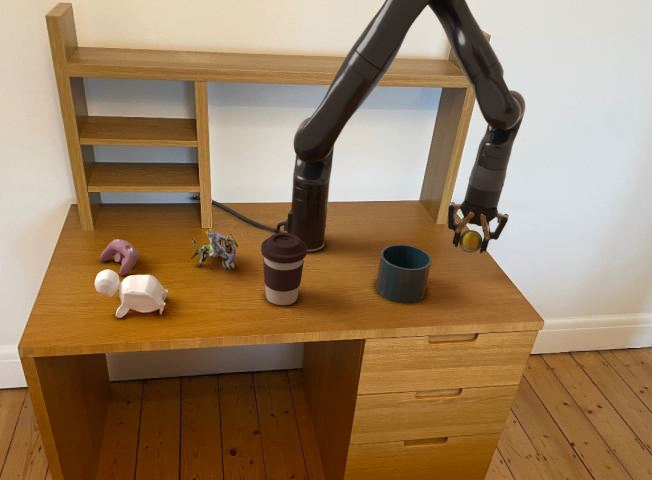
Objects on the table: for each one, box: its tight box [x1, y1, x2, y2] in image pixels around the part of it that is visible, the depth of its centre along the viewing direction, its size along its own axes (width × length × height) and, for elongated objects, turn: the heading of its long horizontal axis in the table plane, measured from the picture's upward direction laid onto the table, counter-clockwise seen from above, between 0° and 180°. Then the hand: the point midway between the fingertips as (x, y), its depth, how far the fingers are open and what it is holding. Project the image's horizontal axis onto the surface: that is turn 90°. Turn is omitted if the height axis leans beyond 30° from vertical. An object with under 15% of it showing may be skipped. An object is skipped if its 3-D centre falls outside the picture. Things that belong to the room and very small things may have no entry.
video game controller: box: [99, 238, 140, 277], centre depth 140 cm, size 10×5×7 cm, turn 47°
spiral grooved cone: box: [458, 229, 483, 253], centre depth 139 cm, size 5×5×10 cm
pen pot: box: [375, 243, 432, 304], centre depth 137 cm, size 12×12×9 cm
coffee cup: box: [260, 232, 308, 306], centre depth 130 cm, size 10×10×15 cm
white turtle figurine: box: [94, 268, 169, 319], centre depth 125 cm, size 8×8×15 cm
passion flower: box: [190, 227, 239, 272], centre depth 141 cm, size 11×11×12 cm
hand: (468, 248), depth 141 cm, fingers closed on spiral grooved cone, 5 cm apart
